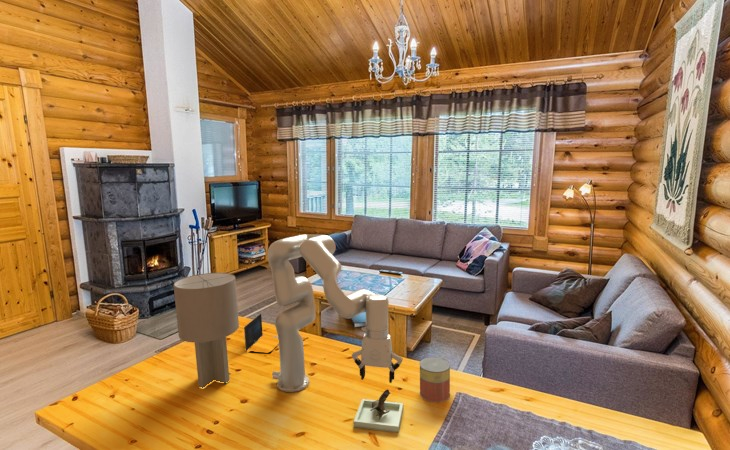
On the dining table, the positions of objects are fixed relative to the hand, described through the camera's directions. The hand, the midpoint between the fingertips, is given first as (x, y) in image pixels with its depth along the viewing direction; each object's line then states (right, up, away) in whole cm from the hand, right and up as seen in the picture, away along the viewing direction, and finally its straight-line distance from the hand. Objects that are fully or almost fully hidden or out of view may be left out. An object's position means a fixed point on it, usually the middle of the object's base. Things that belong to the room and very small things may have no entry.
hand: (376, 379), depth 133 cm
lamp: (-67, -12, +29) cm, 74 cm away
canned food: (+22, -12, +15) cm, 29 cm away
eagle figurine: (+2, -12, +3) cm, 13 cm away
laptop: (-53, -7, +61) cm, 81 cm away
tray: (+1, -14, +2) cm, 14 cm away
